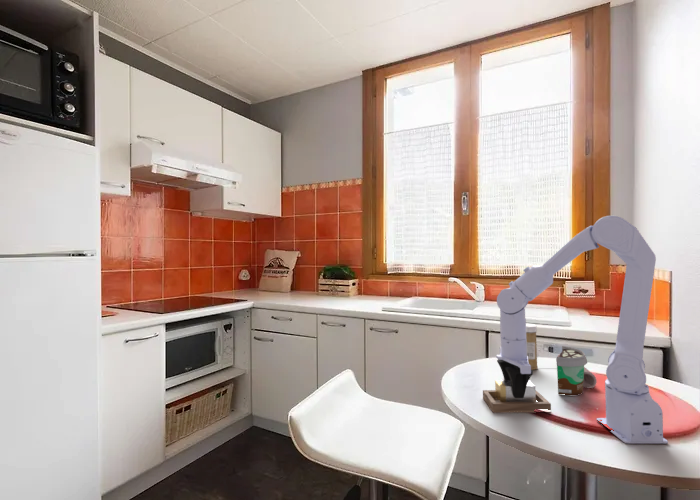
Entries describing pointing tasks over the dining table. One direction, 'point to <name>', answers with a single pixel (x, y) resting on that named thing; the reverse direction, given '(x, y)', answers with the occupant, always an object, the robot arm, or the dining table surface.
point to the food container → (570, 371)
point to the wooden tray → (514, 403)
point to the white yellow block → (506, 394)
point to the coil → (587, 378)
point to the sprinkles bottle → (531, 345)
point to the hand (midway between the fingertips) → (515, 393)
